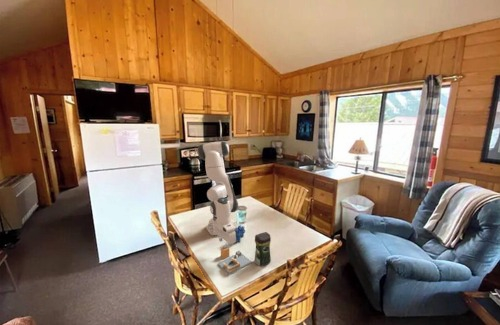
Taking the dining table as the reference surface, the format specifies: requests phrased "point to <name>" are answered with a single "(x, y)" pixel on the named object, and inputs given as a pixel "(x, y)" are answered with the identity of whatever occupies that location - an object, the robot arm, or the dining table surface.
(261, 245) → the coffee jar
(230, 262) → the routed cable
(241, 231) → the grapes
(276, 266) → the dining table surface
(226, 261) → the routing panel
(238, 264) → the bracket
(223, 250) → the block
